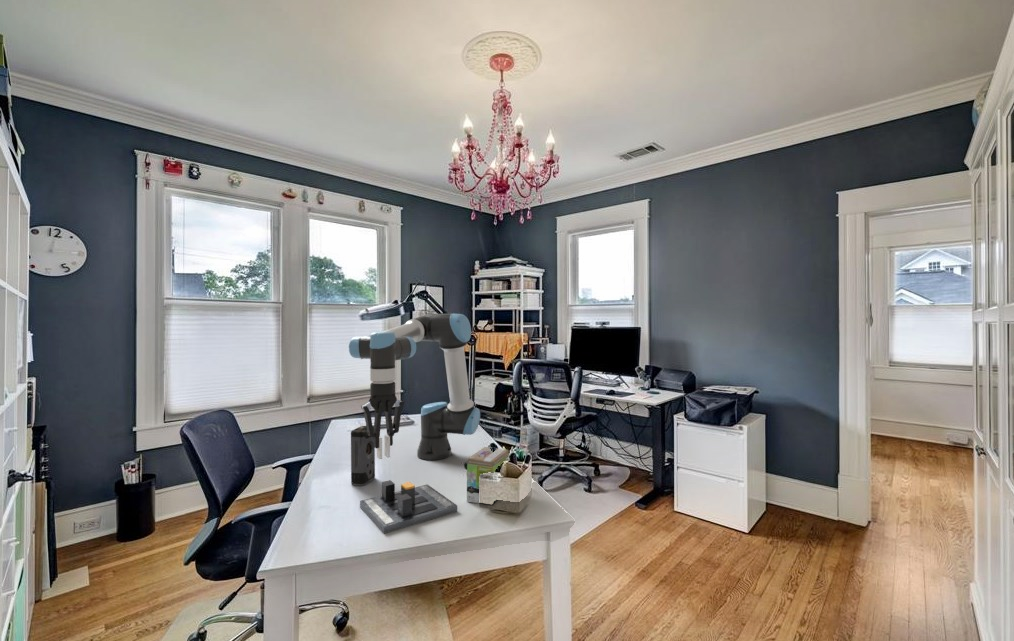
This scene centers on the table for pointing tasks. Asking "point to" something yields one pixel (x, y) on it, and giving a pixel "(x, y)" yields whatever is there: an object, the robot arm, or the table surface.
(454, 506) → the panel
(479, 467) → the tea box
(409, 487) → the block
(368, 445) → the electronic device
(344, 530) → the table surface
